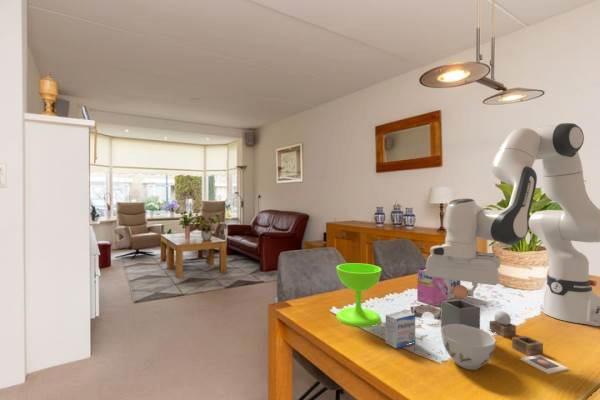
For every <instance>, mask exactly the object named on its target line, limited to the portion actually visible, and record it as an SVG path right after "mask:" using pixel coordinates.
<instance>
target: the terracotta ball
mask: <svg viewBox="0 0 600 400" xmlns="http://www.w3.org/2000/svg"><path fill="white" fill-rule="evenodd" d="M453 295H454V296H455V299H456V300H458V299H461V300H466V299H467V298H468V297H469V296H468V288H467V287H466V286H464V285H457V286H455V287H454V288H453Z"/></svg>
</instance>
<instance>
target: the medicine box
mask: <svg viewBox="0 0 600 400" xmlns="http://www.w3.org/2000/svg"><path fill="white" fill-rule="evenodd" d="M413 342H415V343H416V315H415V314H414V313H412V312H411V311H410V312H409V311H407V310H402V311H397V312H394V313H393V312H392V313H388V314H385V343H386V344H387V345H389V346H391V347H392V348H394V349H396V350H397V349H401V348H404V347H403V346H405V345H407V344H409V343H413ZM405 347H406V346H405Z"/></svg>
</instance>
